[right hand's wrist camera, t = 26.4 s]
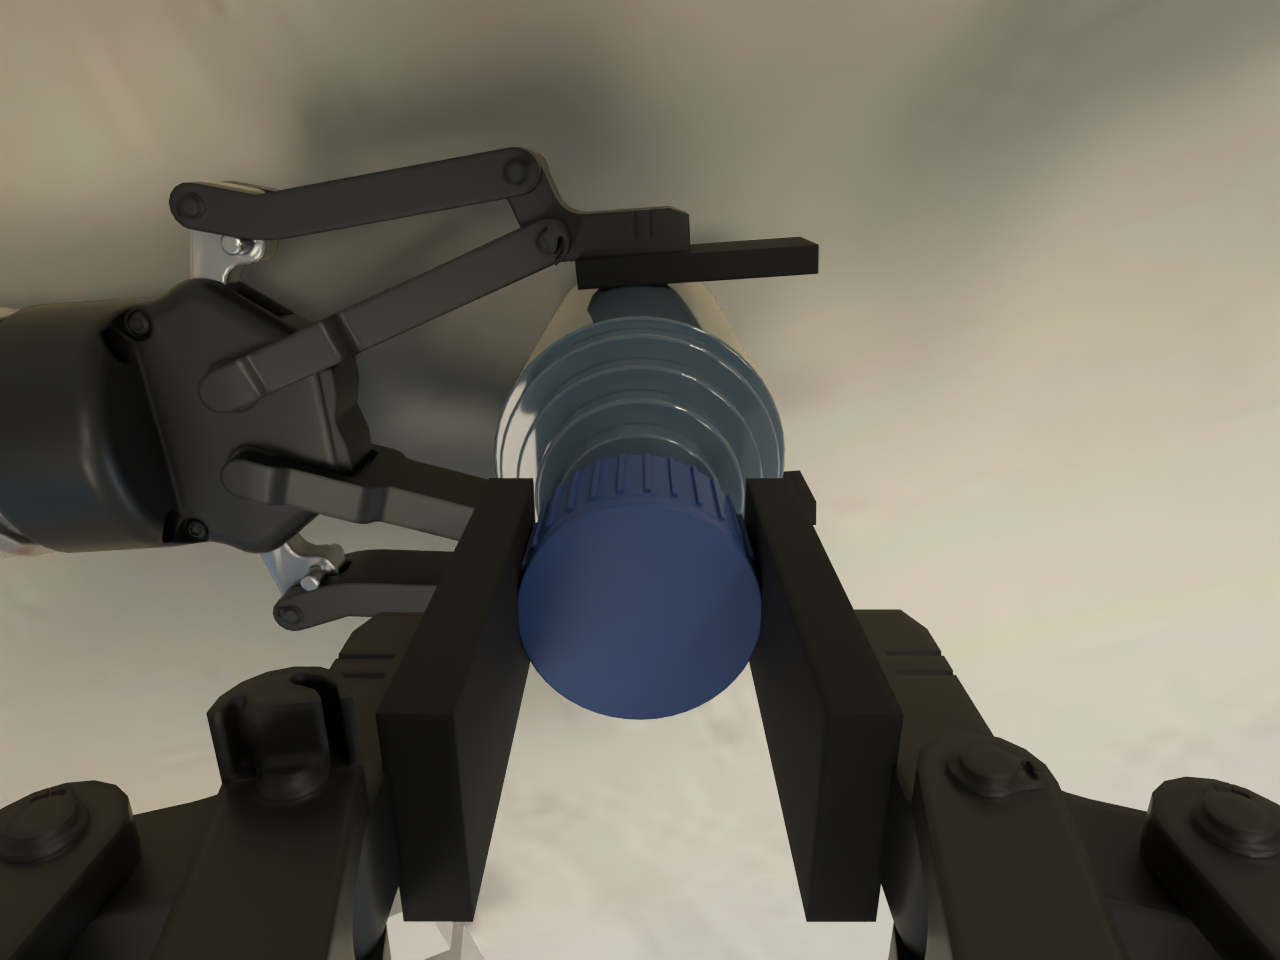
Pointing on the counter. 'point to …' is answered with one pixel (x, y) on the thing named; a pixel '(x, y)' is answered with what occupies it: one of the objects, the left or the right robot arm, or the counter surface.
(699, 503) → the cap
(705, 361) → the bottle
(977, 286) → the counter surface
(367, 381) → the counter surface
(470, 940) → the toy
